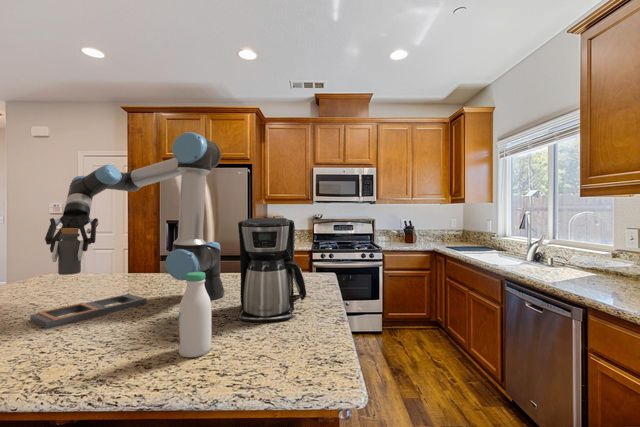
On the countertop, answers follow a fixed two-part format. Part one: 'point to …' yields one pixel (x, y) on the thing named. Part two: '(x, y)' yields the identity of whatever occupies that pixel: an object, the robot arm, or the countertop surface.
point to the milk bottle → (195, 317)
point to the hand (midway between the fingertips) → (67, 258)
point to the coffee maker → (268, 269)
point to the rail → (84, 310)
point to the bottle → (69, 252)
